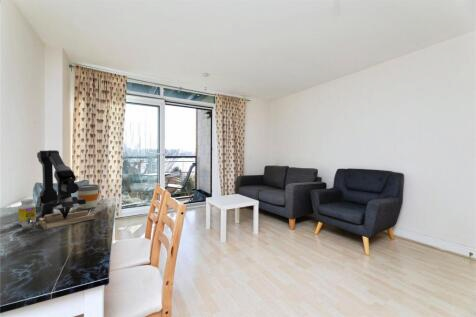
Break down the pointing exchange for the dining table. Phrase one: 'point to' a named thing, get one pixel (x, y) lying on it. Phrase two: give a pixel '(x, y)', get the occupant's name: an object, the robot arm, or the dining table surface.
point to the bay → (68, 221)
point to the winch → (27, 224)
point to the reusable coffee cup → (88, 195)
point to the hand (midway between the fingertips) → (64, 218)
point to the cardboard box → (53, 217)
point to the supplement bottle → (27, 210)
